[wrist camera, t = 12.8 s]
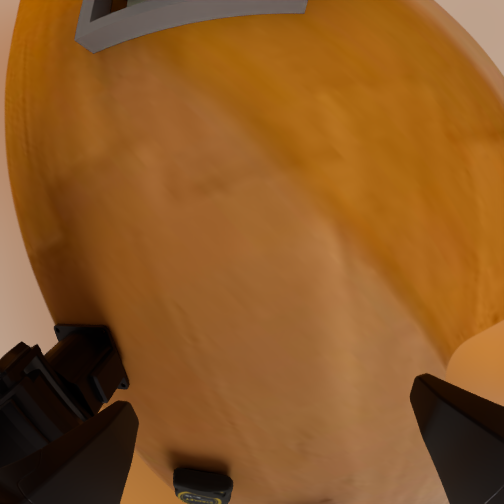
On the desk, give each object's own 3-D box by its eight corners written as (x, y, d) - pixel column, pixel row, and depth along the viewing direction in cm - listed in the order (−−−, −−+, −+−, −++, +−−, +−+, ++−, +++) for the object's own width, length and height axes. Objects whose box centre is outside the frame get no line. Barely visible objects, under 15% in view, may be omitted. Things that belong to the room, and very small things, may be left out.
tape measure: (235, 469, 24) (233, 494, 21) (228, 491, 26) (227, 512, 22) (176, 459, 24) (170, 483, 21) (177, 482, 26) (172, 503, 22)
